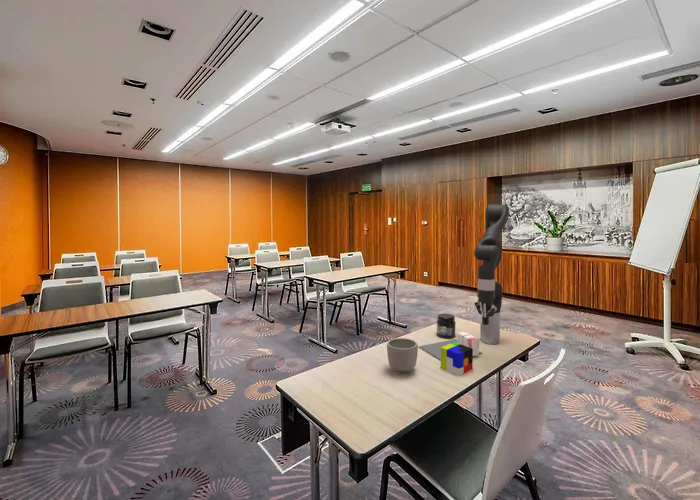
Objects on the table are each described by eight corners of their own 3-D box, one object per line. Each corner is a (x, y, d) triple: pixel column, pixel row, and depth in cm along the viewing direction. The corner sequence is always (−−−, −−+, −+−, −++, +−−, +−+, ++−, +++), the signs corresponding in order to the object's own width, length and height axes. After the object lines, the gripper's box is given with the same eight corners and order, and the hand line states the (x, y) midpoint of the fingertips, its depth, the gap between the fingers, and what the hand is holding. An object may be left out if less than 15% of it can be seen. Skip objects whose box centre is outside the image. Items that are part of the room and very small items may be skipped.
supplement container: (451, 332, 205) (451, 312, 204) (458, 338, 195) (458, 318, 194) (434, 333, 205) (434, 313, 203) (440, 339, 194) (440, 318, 193)
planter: (381, 367, 160) (381, 340, 159) (406, 361, 166) (406, 335, 165) (397, 380, 148) (397, 351, 146) (424, 373, 153) (423, 345, 152)
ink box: (479, 338, 169) (465, 331, 180) (470, 340, 167) (457, 332, 179) (479, 355, 169) (465, 347, 181) (470, 357, 168) (457, 348, 180)
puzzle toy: (458, 376, 151) (459, 354, 150) (440, 368, 159) (440, 347, 158) (472, 369, 156) (472, 348, 155) (454, 362, 165) (454, 342, 163)
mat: (418, 347, 184) (418, 346, 183) (455, 340, 192) (455, 339, 192) (443, 362, 164) (443, 361, 164) (482, 353, 173) (482, 352, 173)
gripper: (469, 286, 163) (469, 321, 165) (490, 291, 151) (489, 329, 153) (481, 284, 166) (481, 319, 168) (503, 290, 154) (502, 327, 156)
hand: (485, 324), depth 160 cm, fingers closed
